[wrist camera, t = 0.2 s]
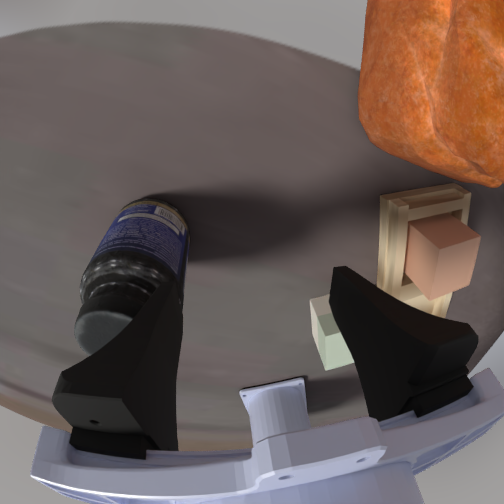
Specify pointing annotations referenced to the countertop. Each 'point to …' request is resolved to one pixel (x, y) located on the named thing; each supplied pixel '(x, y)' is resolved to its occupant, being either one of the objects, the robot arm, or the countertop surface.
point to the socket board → (395, 236)
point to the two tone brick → (328, 335)
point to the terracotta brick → (440, 254)
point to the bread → (436, 85)
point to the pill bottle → (131, 269)
